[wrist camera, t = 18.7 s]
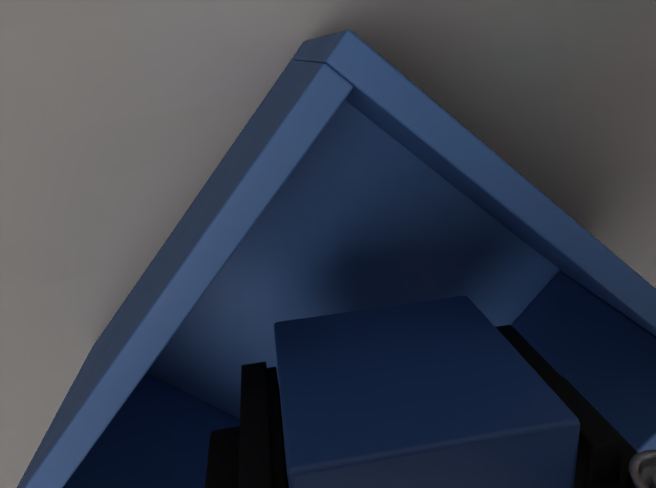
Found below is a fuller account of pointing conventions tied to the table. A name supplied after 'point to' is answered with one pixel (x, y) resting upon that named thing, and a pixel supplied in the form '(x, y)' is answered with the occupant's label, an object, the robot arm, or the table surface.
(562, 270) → the blue bin
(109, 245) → the table surface
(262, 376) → the robot arm
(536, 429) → the blue block
